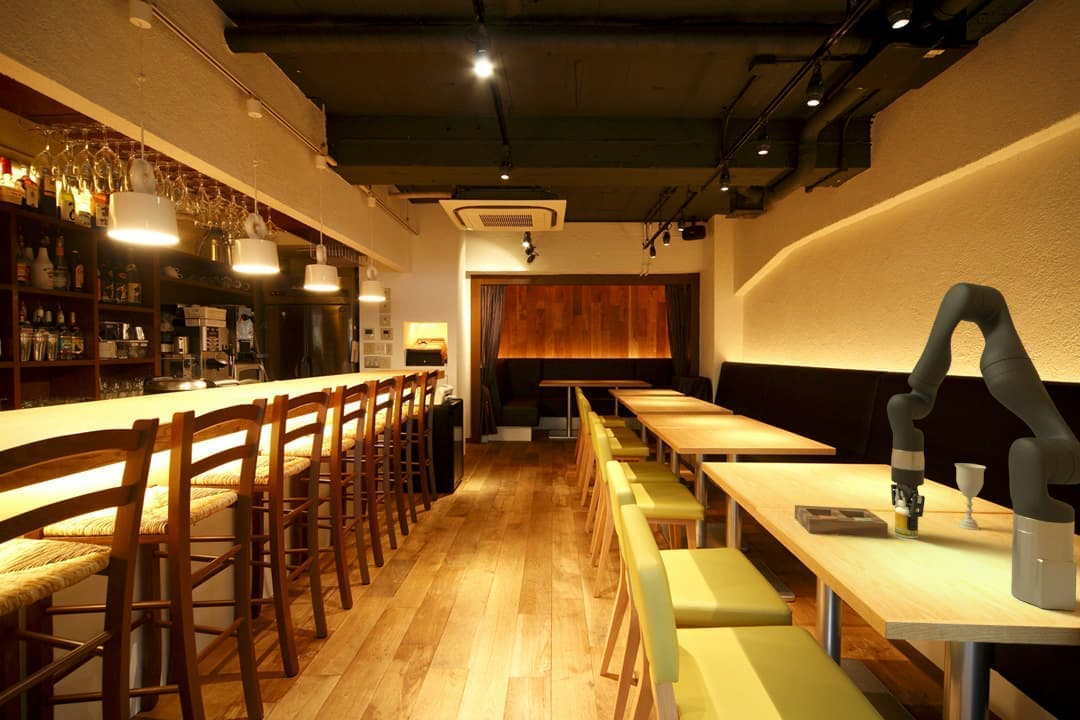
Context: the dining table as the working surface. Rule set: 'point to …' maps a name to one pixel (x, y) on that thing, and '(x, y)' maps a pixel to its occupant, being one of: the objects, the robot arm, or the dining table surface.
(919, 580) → the dining table surface
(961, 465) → the chalice
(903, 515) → the supplement bottle
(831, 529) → the socket block
